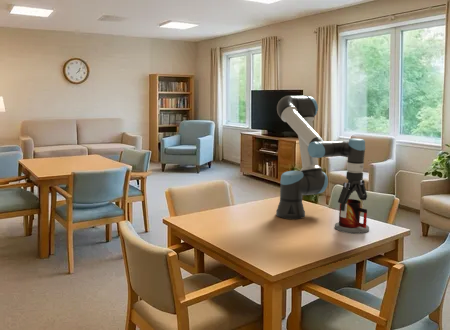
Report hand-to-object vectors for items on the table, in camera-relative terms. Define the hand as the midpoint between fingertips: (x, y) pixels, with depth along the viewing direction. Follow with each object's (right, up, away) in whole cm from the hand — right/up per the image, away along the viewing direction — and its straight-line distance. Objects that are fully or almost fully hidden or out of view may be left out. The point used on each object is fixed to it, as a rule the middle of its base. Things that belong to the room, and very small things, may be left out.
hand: (351, 214), depth 217 cm
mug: (+1, -6, 0) cm, 6 cm away
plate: (0, -7, +1) cm, 7 cm away
